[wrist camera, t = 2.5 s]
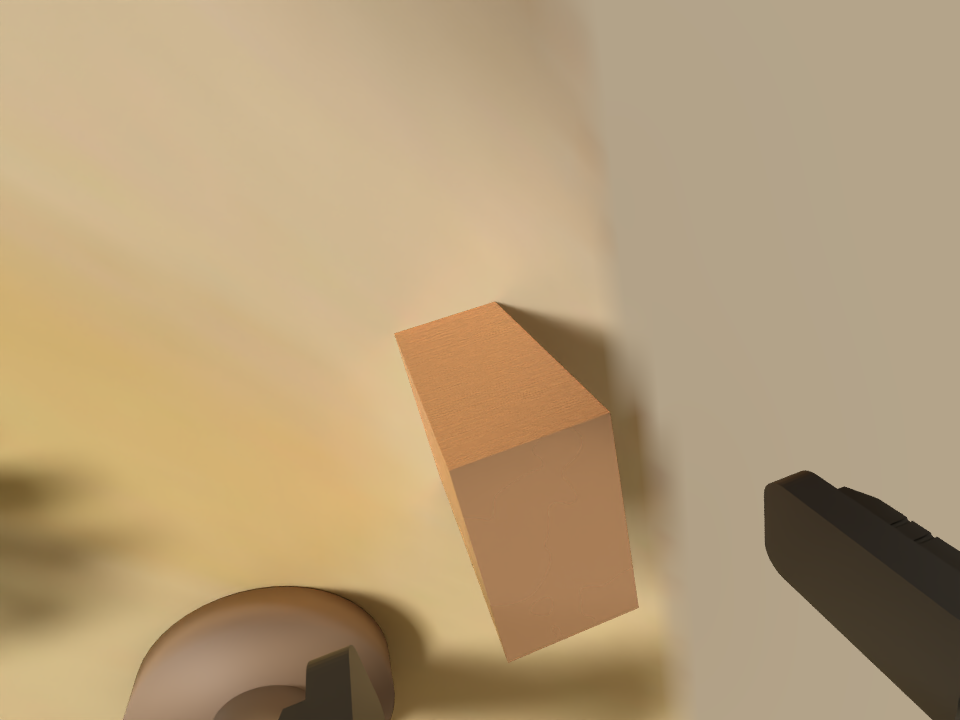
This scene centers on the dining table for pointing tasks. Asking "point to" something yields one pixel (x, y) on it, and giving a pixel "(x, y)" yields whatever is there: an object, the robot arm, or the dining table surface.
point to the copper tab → (523, 476)
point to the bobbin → (254, 656)
